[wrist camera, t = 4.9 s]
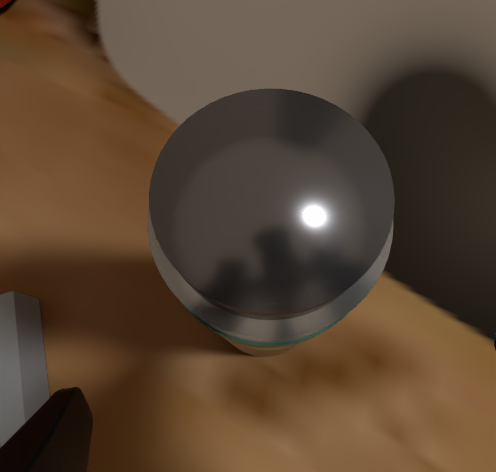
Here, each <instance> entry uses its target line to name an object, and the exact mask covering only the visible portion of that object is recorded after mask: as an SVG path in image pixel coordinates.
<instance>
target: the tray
mask: <svg viewBox="0 0 496 472" xmlns="http://www.w3.org/2000/svg"><path fill="white" fill-rule="evenodd" d="M49 398H50V396H49V387H48V377H47V368H46V359H45V350H44V341H43V332H42V323H41V314H40V305H39V299H38V298H35V297H31V296H28V295H25V294H22V293H19V292H16V291H10V292H7V293H3V294H0V448H1V447H2V446H3V445H4V444H5V443H6V442H7V441H8V440H9V439H10V438H11V437H12V436H13V435H14V433H15V432H16V431H17V430H18V429H19V428H20V427H21V426H22V425H23V424H24V423H25V422H26V421H27V420H28V419H29V418H30V417H31V416H32V415H33V414H34V413H35V412H36V411H37V410H38V409H39V408H40V407H41V406H42V405H43V404H44V403H45V402H46V401H47V400H48V399H49Z"/></svg>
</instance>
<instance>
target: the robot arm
mask: <svg viewBox="0 0 496 472" xmlns="http://www.w3.org/2000/svg"><path fill="white" fill-rule="evenodd" d="M494 346H495V350H496V336H495V341H494ZM92 427H93V417H92V413H91V410H90V408H89V406H88V404H87V402H86V399H85V397H84V395H83V393H82V391H81V389H79V388H78V387H72V388H67V389H61V390H58V391H57V392H55V393H54V394H53V395H52V396H51V397H50V398H49V399H48V400H47V401H46V402H45V403H44V404H43V405H42V406H41V407H40V408H39V409H38V410H37V411H36V412H35V413H34V414H33V415H32V416H31V417H30V418H29V419H28V420H27V421H26V422H25V423H24V424H23V425H22V426H21V427H20V428H19V429H18V430H17V431H16V432H15V433H14V435H13V436H12V437H11V438H10V439H9V440H8V441H7V442H6V443H5V444H4V445H3V446H2V447H1V448H0V472H86V471H87V464H88V457H89V449H90V442H91V434H92Z"/></svg>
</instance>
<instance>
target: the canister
mask: <svg viewBox="0 0 496 472" xmlns="http://www.w3.org/2000/svg"><path fill="white" fill-rule="evenodd" d="M394 201H395V199H394V187H393V182H392V177H391V174H390V170H389V167H388V165H387V162H386V159H385V157H384V155H383V153H382V152H381V150H380V148H379V146H378V145H377V143H376V141H375V140H374V139H373V137H372V136H371V135H370V133H369V132H368V131H367V130H366V129H365V128H364V127H363V126H362V125H361V124H360V123H359V122H358V121H357V120H356V119H354V118H353V117H352V116H351V115H350V114H348V113H347V112H345V111H344V110H342V109H341V108H339V107H338V106H336V105H334V104H332V103H329V102H328V101H326V100H324V99H321V98H318V97H316V96H313V95H310V94H306V93H302V92H298V91H292V90H285V89H259V90H249V91H244V92H240V93H236V94H232V95H230V96H226V97H224V98H222V99H219V100H217V101H215V102H212V103H210V104H209V105H207V106H205V107H204V108H202V109H200V110H198V111H197V112H196V113H194V114H193V115H192V116H190V117H189V118H188V119H187V120H186V121H185V122H184V123H182V124H181V125H180V126H179V127H178V128H177V129H176V131H175V132H174V133H173V134H172V136H171V137H170V138H169V139H168V141H167V143H166V144H165V146H164V148H163V149H162V151H161V153H160V155H159V157H158V159H157V162H156V164H155V167H154V170H153V174H152V178H151V183H150V191H149V211H148V236H149V243H150V248H151V251H152V255H153V258H154V261H155V263H156V266H157V268H158V270H159V272H160V274H161V276H162V278H163V279H164V281H165V282H166V284H167V286H168V287H169V289H170V290H171V291H172V292H173V293H174V294H175V296H176V297H177V298H178V299H179V300H180V302H181V303H182V304H183V305H184V306H185V307H186V308H187V310H188V311H189V312H190V313H191V314H192V315H193V316H195V317H196V318H197V319H198V320H199V321H200V322H201V323H203V324H204V325H205V326H207V327H208V328H209V329H211V330H212V331H214V332H215V333H217V334H218V335H220V336H222V337H224V338H225V339H226V340H227V341H228V342H230V343H231V344H232V345H233V346H235V347H236V348H237V349H239V350H240V351H243V352H245V353H247V354H250V355H253V356H259V357H268V356H275V355H279V354H281V353H284V352H286V351H287V350H289V349H291V348H293V347H294V346H296V345H298V344H299V343H301V342H303V341H306V340H308V339H311V338H313V337H314V336H316V335H318V334H320V333H322V332H323V331H325V330H327V329H329V328H330V327H332V326H333V325H334V324H336V323H337V322H338V321H340V320H341V319H342V318H343V317H344V316H345V315H346V314H347V313H348V312H350V311H351V310H352V309H354V308H355V307H356V306H357V305H358V304H359V303H360V302H361V301H362V300H363V299H364V298H365V297H366V296H367V294H368V293H369V292H370V290H371V289H372V288H373V286H374V285H375V284H376V282H377V280H378V278H379V277H380V275H381V273H382V271H383V269H384V266H385V264H386V261H387V258H388V256H389V252H390V247H391V242H392V236H393V216H394Z"/></svg>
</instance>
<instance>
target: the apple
mask: <svg viewBox="0 0 496 472" xmlns="http://www.w3.org/2000/svg"><path fill="white" fill-rule="evenodd" d="M10 1H12V0H0V8H2V7H3V6H5V5H6V4H7V3H9V2H10Z"/></svg>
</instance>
